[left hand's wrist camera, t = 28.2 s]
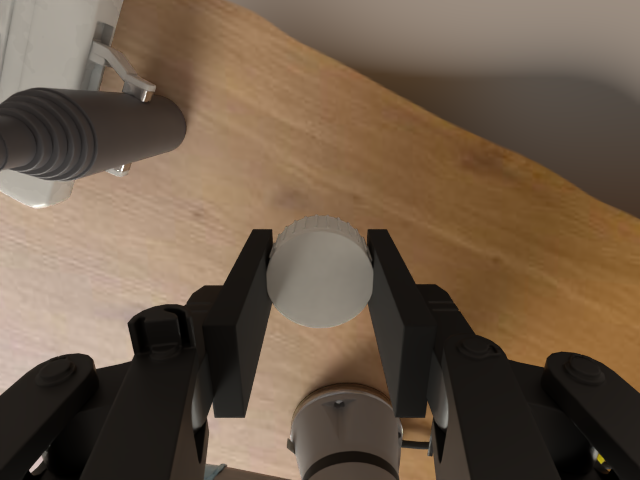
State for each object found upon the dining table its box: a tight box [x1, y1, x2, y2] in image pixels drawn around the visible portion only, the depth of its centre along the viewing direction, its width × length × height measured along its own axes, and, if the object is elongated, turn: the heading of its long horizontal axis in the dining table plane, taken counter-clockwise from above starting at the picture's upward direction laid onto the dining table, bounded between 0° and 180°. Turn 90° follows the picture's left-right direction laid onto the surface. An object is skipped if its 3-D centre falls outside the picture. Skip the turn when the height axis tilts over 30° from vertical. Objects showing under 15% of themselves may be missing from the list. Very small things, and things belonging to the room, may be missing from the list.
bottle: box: [0, 87, 186, 181], centre depth 26 cm, size 6×6×21 cm
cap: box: [266, 214, 374, 328], centre depth 13 cm, size 4×4×2 cm
